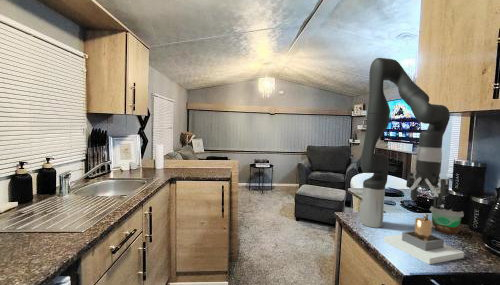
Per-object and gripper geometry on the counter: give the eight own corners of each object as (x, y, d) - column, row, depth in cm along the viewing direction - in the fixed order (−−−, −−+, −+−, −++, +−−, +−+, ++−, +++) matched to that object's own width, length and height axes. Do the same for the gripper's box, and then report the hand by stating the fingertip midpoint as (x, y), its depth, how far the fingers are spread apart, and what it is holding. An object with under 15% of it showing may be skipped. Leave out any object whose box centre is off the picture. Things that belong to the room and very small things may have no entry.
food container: (428, 230, 117) (430, 208, 117) (428, 226, 122) (430, 205, 122) (464, 237, 110) (466, 214, 110) (462, 233, 115) (464, 211, 115)
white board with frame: (384, 241, 103) (385, 229, 103) (415, 237, 109) (416, 225, 108) (429, 264, 86) (430, 249, 86) (463, 257, 92) (464, 243, 91)
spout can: (411, 242, 98) (412, 213, 98) (420, 240, 100) (422, 212, 100) (424, 247, 94) (425, 217, 93) (433, 246, 96) (435, 216, 95)
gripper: (403, 157, 101) (400, 198, 102) (441, 162, 88) (437, 210, 89) (417, 157, 103) (414, 197, 104) (456, 162, 90) (452, 208, 91)
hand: (424, 203), depth 97 cm, fingers open, 8 cm apart
